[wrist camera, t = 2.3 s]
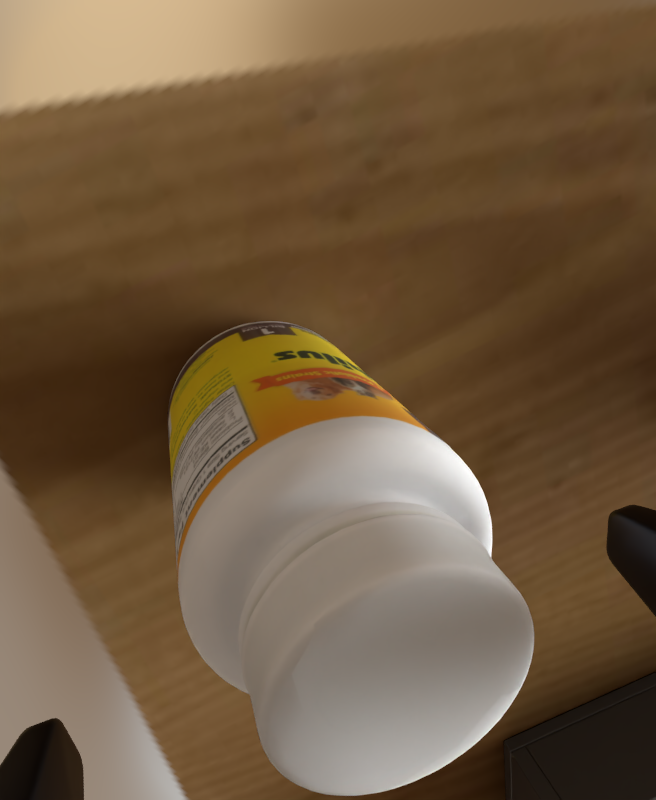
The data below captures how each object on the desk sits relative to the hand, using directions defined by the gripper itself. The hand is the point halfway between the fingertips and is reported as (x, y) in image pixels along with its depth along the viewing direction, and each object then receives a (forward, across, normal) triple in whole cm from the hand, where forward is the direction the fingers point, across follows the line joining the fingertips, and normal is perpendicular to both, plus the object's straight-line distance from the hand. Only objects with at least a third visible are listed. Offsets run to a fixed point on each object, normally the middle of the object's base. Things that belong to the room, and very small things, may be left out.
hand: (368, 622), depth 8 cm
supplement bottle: (+9, 0, 0) cm, 9 cm away
